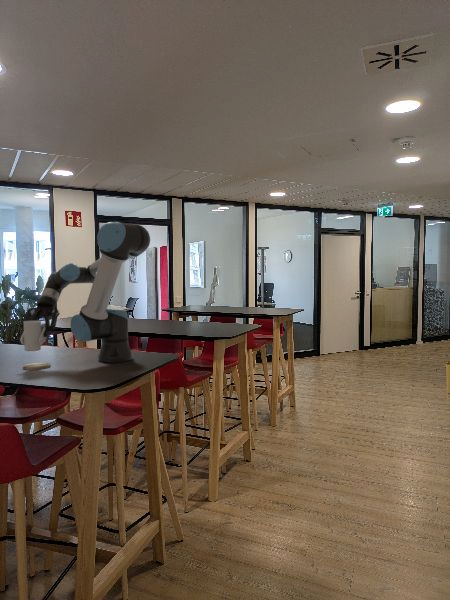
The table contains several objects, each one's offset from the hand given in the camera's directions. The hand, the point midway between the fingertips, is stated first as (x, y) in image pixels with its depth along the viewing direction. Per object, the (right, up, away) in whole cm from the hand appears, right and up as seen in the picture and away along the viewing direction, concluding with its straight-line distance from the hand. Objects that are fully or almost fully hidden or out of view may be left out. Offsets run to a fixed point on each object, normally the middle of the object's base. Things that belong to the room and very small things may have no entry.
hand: (31, 342), depth 192 cm
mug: (+1, -4, +4) cm, 5 cm away
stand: (+1, -11, +4) cm, 12 cm away
